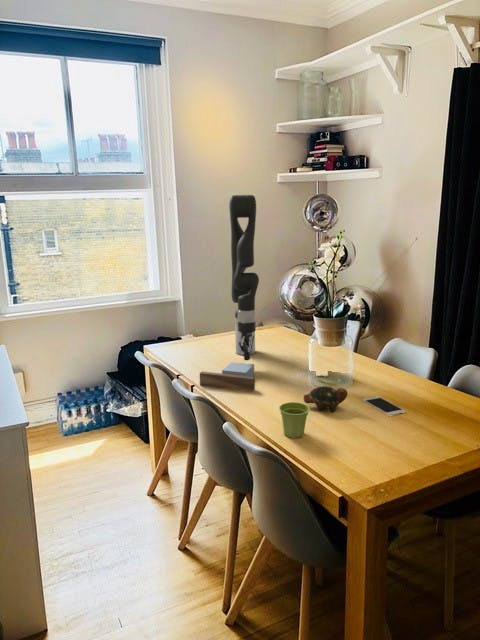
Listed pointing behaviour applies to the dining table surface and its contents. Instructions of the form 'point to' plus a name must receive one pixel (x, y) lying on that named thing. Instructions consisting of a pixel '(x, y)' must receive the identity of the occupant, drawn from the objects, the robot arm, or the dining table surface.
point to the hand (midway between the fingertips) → (247, 359)
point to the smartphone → (383, 405)
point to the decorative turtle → (326, 397)
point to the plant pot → (294, 418)
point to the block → (239, 369)
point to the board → (227, 381)
